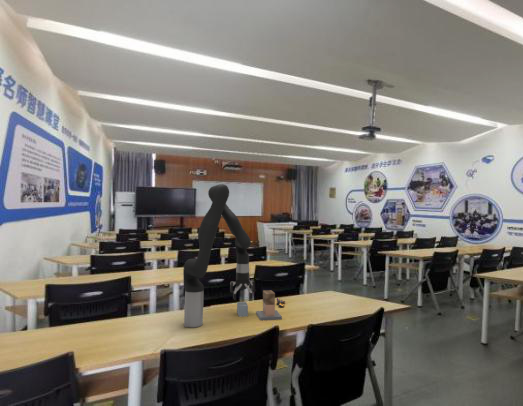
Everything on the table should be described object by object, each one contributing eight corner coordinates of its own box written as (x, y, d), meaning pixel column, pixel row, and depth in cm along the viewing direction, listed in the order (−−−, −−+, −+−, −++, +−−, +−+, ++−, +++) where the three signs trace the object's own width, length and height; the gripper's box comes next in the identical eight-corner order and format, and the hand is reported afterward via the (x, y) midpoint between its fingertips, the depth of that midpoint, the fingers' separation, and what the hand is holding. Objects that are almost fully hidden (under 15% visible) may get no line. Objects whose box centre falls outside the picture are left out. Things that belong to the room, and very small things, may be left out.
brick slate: (238, 316, 183) (238, 305, 183) (236, 312, 191) (237, 302, 191) (247, 316, 184) (247, 305, 184) (245, 312, 192) (245, 301, 192)
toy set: (271, 309, 200) (271, 301, 200) (266, 304, 211) (266, 296, 211) (290, 308, 203) (290, 300, 203) (284, 303, 214) (284, 296, 214)
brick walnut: (265, 304, 180) (266, 293, 180) (262, 301, 188) (263, 290, 188) (274, 304, 181) (274, 293, 181) (271, 300, 189) (271, 290, 189)
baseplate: (260, 320, 177) (260, 306, 178) (256, 313, 189) (256, 300, 189) (281, 319, 180) (282, 305, 180) (276, 312, 191) (276, 299, 192)
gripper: (253, 269, 194) (253, 297, 193) (229, 270, 191) (229, 298, 191) (256, 272, 186) (256, 300, 186) (231, 272, 183) (230, 302, 183)
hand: (242, 299), depth 188 cm, fingers open, 8 cm apart
